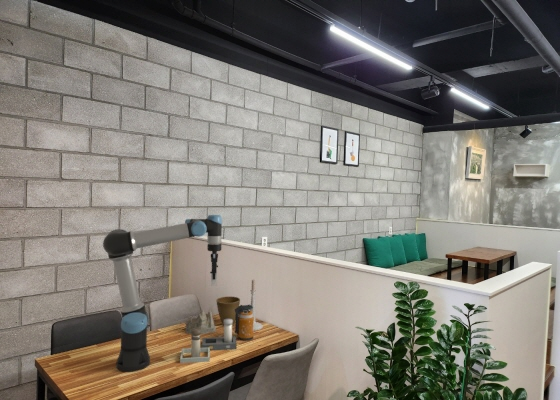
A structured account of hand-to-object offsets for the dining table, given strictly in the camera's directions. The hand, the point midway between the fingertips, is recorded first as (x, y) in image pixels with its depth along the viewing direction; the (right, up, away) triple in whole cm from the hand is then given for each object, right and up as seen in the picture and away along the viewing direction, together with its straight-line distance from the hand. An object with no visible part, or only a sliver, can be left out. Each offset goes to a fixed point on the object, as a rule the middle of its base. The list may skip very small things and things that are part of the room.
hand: (214, 282), depth 207 cm
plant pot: (+3, -35, +34) cm, 49 cm away
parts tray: (-7, -35, -16) cm, 39 cm away
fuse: (+8, -34, -1) cm, 35 cm away
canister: (+15, -35, +10) cm, 40 cm away
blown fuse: (-7, -34, -16) cm, 39 cm away
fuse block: (+3, -35, -2) cm, 35 cm away
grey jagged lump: (-12, -35, +22) cm, 43 cm away
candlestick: (+19, -35, +31) cm, 50 cm away
